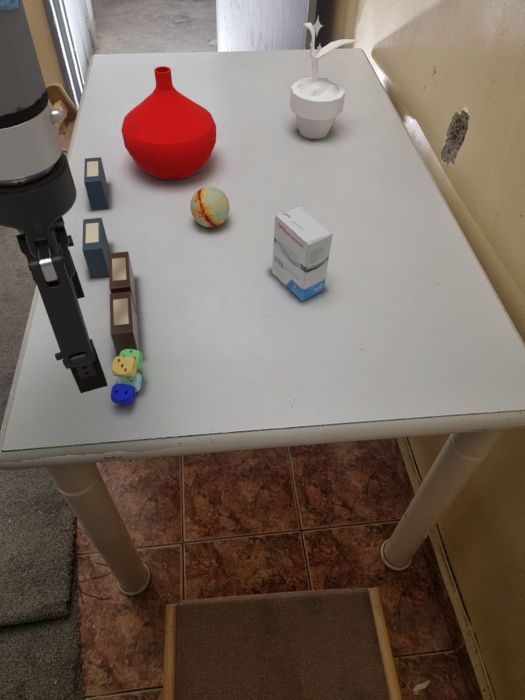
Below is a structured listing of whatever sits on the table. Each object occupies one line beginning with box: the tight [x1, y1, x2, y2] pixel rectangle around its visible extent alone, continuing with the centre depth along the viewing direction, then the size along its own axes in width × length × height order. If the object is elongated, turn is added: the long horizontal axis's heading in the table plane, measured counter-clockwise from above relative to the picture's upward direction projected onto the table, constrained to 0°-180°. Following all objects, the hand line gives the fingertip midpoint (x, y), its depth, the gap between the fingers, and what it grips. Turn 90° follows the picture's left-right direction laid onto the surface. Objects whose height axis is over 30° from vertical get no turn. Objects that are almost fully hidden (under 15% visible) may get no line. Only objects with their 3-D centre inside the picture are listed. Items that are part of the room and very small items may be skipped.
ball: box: [189, 186, 231, 228], centre depth 93 cm, size 7×7×7 cm
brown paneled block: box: [108, 251, 140, 357], centre depth 77 cm, size 3×17×6 cm, turn 11°
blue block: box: [81, 156, 110, 279], centre depth 91 cm, size 3×27×6 cm, turn 11°
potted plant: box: [289, 14, 359, 140], centre depth 108 cm, size 13×12×25 cm
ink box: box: [271, 205, 334, 302], centre depth 82 cm, size 8×5×12 cm, turn 34°
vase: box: [121, 65, 217, 181], centre depth 100 cm, size 18×18×19 cm
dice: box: [110, 349, 144, 405], centre depth 69 cm, size 8×3×6 cm, turn 176°
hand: (82, 339), depth 56 cm, fingers open, 13 cm apart
